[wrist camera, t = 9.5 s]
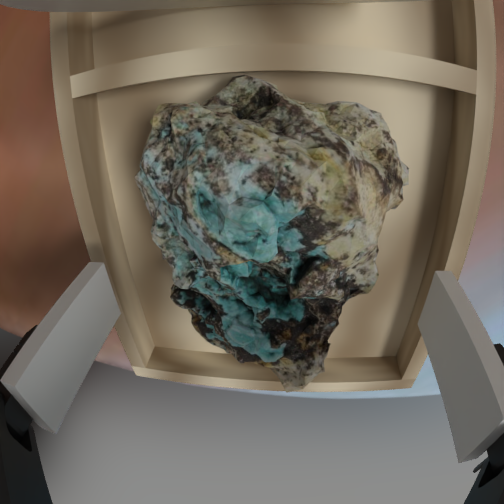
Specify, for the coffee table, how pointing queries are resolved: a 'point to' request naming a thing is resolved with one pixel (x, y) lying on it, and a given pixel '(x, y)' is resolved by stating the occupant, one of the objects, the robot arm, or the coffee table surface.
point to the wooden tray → (298, 88)
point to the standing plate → (153, 4)
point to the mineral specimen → (269, 217)
